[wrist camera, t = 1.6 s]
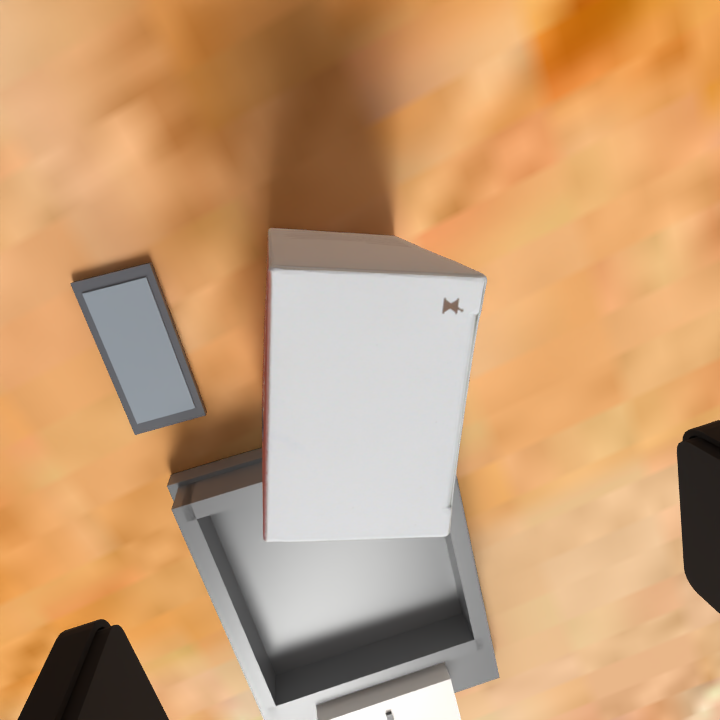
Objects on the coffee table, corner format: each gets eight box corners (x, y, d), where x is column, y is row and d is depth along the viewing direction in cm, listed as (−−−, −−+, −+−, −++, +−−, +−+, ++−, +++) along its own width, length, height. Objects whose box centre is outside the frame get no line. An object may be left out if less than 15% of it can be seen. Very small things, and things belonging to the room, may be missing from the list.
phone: (78, 279, 22) (69, 284, 21) (154, 260, 22) (149, 263, 21) (139, 426, 24) (134, 435, 24) (207, 407, 25) (205, 416, 24)
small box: (267, 225, 22) (265, 255, 12) (397, 234, 23) (493, 269, 13) (263, 404, 24) (258, 550, 15) (381, 404, 25) (452, 543, 16)
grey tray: (170, 474, 25) (155, 519, 21) (434, 395, 26) (459, 426, 22) (282, 734, 31) (283, 801, 27) (492, 663, 32) (518, 718, 28)
